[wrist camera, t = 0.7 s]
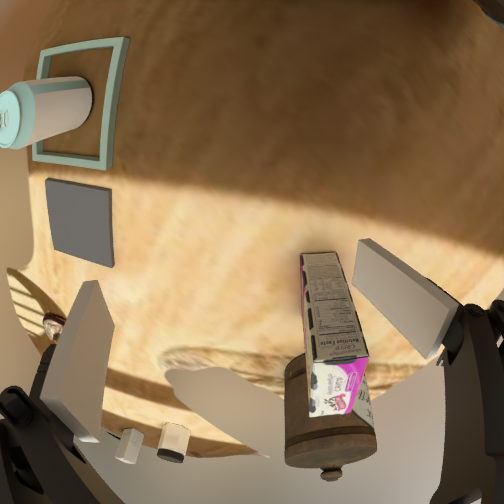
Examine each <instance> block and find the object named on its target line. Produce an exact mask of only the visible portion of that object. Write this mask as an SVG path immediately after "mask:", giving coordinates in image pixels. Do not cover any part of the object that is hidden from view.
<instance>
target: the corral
mask: <svg viewBox="0 0 504 504" xmlns="http://www.w3.org/2000/svg"><path fill="white" fill-rule="evenodd" d="M129 42H130V39H129V38H126V37H117V38H107V39H99V40H91V41H85V42H79V43H73V44H68V45H63V46H58V47H54V48H50V49H46V50H42V51H41V54H40V59H39V65H38V71H37V78H36V80H37V79H46V78H48V74H49V67H50V62H51V56H55V55H60V54H66V53H72V52H78V51H85V50H92V49H102V48H113V47H114V49H113V54H112V59H111V64H110V69H109V74H108V80H107V86H106V93H105V101H104V109H103V118H102V129H101V142H100V157H92V156H84V155H75V154H65V153H55V152H44V151H43V140H40V141H38V142H35V143H32V157H33V161H40V162H48V163H57V164H64V165H72V166H79V167H86V168H93V169H99V170H108V169H110V168H111V167H112V161H113V145H114V133H115V123H116V114H117V106H118V99H119V92H120V86H121V80H122V74H123V69H124V64H125V59H126V55H127V50H128V46H129Z"/></svg>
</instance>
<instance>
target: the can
mask: <svg viewBox="0 0 504 504" xmlns="http://www.w3.org/2000/svg"><path fill="white" fill-rule="evenodd" d="M91 104H92V93H91V89H90V86H89V84H88V83H87V81H86V80H85V79H83V78H81V77H78V76H73V77H57V78H46V79H37V80H30V81H23V82H18V83H15V84H14V85H12V86H11V87H10V88H9V89H8V90H7V91H4V92H2V93H1V94H0V147H2V148H7V147H9V148H11V149H20V148H23V147H25V146H27V145H30V144H32V143H35V142H38V141H40V140H43V139H46V138H49V137H51V136H54V135H57V134H60V133H63V132H66V131H69V130H73V129H76V128H78V127H79V126H80V125H82V124H83V122H84V121H85V120H86V118H87V117H88V115H89V112H90V109H91Z"/></svg>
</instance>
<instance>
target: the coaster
mask: <svg viewBox="0 0 504 504" xmlns="http://www.w3.org/2000/svg"><path fill="white" fill-rule="evenodd" d="M45 186H46V198H47V207H48V215H49V222H50V229H51V235H52V241H53V246H54V250H57V251H60V252H63V253H66V254H69V255H72V256H75V257H78V258H81V259H84V260H87V261H91V262H94V263H97V264H100V265H103V266H107V267H110V268H113V266H114V252H113V236H112V189H107V188H102V187H96V186H91V185H86V184H80V183H74V182H69V181H63V180H57V179H51V178H48V179H46V180H45Z"/></svg>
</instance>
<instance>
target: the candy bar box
mask: <svg viewBox="0 0 504 504" xmlns="http://www.w3.org/2000/svg"><path fill="white" fill-rule="evenodd" d="M300 272H301V300H302V320H303V331H304V342H305V355H306V368H307V382H308V397H309V417H320V416H331V415H336V414H338V415H342V414H346V413H350V412H351V410H352V408H353V405H354V402H355V399H356V396H357V393H358V391H359V388H360V385H361V382H362V379H363V376H364V373H365V369H366V366H367V363H368V360H369V353H368V349H367V346H366V342H365V339H364V335H363V332H362V328H361V325H360V321H359V318H358V315H357V312H356V309H355V306H354V303H353V300H352V297H351V294H350V291H349V287H348V284H347V281H346V278H345V275H344V272H343V269H342V267H341V264H340V261H339V258H338V255H337V253H336V252H325V253H313V254H301V255H300Z"/></svg>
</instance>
